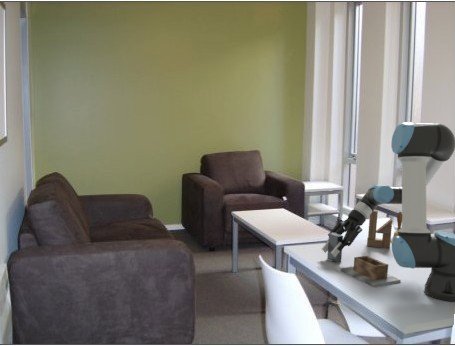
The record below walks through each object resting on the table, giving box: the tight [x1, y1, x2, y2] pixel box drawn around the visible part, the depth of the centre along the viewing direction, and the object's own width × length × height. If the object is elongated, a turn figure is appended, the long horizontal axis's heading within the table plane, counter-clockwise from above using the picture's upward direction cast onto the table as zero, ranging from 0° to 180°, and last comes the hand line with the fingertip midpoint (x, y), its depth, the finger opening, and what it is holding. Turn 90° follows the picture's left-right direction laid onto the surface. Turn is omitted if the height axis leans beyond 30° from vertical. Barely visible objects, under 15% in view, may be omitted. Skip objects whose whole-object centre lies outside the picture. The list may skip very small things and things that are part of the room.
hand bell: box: [390, 211, 402, 244], centre depth 265 cm, size 8×8×16 cm
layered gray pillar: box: [326, 232, 344, 264], centre depth 233 cm, size 6×3×12 cm, turn 27°
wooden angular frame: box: [366, 209, 393, 249], centre depth 257 cm, size 4×11×18 cm, turn 78°
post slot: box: [340, 255, 402, 288], centre depth 214 cm, size 20×14×6 cm
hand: (328, 252), depth 231 cm, fingers closed on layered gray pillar, 6 cm apart
